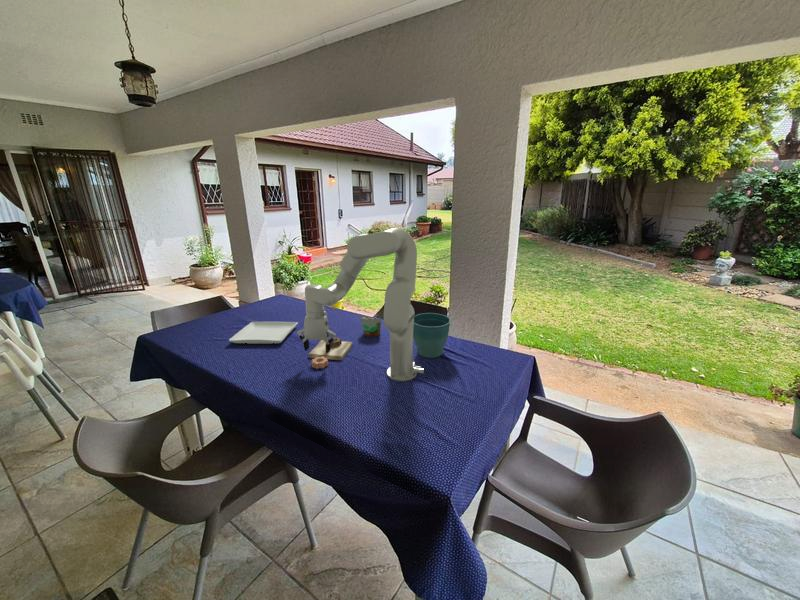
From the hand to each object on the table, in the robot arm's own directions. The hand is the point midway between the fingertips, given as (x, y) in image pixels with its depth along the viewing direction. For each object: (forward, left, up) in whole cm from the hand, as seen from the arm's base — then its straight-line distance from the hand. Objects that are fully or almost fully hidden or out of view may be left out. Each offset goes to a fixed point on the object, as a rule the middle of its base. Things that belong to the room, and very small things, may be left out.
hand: (317, 350), depth 147 cm
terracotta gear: (-1, 0, -7) cm, 7 cm away
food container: (-14, -36, -7) cm, 39 cm away
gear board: (-1, -14, -7) cm, 16 cm away
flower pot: (-48, -20, -7) cm, 52 cm away
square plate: (+41, -27, -8) cm, 50 cm away
